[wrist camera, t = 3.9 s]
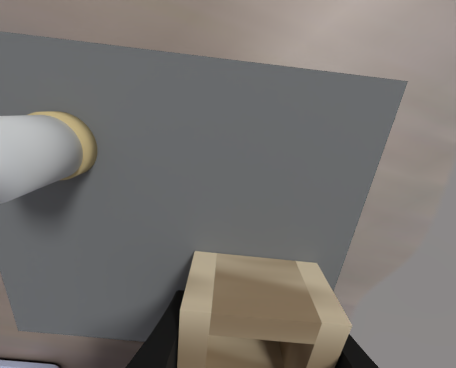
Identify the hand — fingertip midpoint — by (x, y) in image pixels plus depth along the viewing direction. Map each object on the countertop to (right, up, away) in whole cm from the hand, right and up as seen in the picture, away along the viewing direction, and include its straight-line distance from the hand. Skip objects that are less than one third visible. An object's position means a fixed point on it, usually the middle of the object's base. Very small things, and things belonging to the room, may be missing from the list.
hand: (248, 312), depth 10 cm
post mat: (-4, +4, 0) cm, 6 cm away
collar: (0, 0, 0) cm, 0 cm away
